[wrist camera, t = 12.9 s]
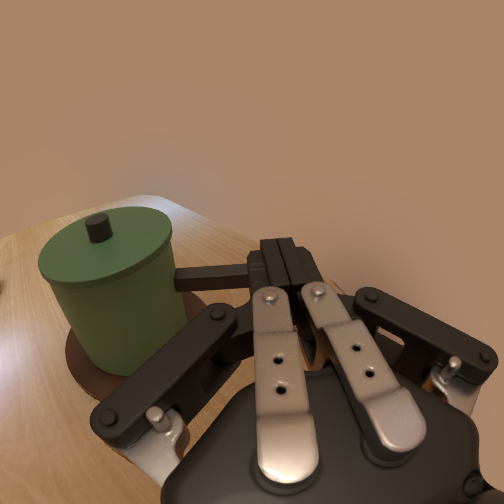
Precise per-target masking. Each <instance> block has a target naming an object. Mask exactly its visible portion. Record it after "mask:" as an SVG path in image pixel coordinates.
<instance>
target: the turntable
mask: <svg viewBox="0 0 504 504" xmlns="http://www.w3.org/2000/svg"><path fill="white" fill-rule="evenodd" d="M181 295H182V300H183V304H184V309H185V313H186V317H187V322H189V321H191V320H192V319H193V318H194V317H195V316H196V315H197V314H198V313H199V312H200V311H201V310H203V309H204V308H205V307H206V304H205V303H204V302H203V301H202V300H201V299H200V298H199V297H198V296H196V295H195V294H194V293H192V292H181ZM65 354H66V361H67V365H68V368H69V370H70V372H71V374H72V375H73V377H74V378H75V380H76V381H77V383H78V384H79V385H80V386H81V387H82V388H83V389H84V390H85V391H86V392H87V393H88V394H89V395H91V396H92V397H94V398H95V399H97V400H99V401H101V402H102V401H103V400H104V399H105V398H106V397H107V396H108V395H109V394H110V393H111V392H113V391H114V390H115V389H116V388H117V387H118V386H119V385H120V384H121V383H123V382H124V381H125V380H126V379H127V378H128V377H129V376H119V375H114V374H110V373H107V372H105V371H103V370H101V369H100V368H98V367H97V366H96V365H94V364H93V362H92V361H91V360H90V358H89V357H88V355H87V354H86V352H85V350H84V349H83V347H82V345H81V344H80V342H79V340H78V338H77V337H76V335H75V333H74V331H73V330H72V328H71V329H70V332H69V334H68V337H67V341H66V348H65Z"/></svg>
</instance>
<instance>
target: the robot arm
mask: <svg viewBox="0 0 504 504" xmlns="http://www.w3.org/2000/svg"><path fill="white" fill-rule="evenodd" d="M247 268H248V284H249V291H250V298H251V299H250V300H249V301H248V302H247V303H246V304H244V305H242V306H240V307H237V308H233V307H232V306H231V305H229V304H226V303H214V304H210V305H208V306H206V307H205V308H204V309H203V310H201V311H200V312H199V313H198V314H197V315H196V316H195V317H194V318H193V319H192V320H191V321H189V322H188V323H187V324H186V325H185V326H184V327H183V328H182V329H181V330H180V331H179V332H177V333H176V334H175V335H174V336H173V337H172V338H171V339H170V340H169V341H168V342H167V343H165V344H164V345H163V346H162V347H161V348H160V349H159V350H158V351H157V352H156V353H155V354H153V355H152V356H151V357H150V358H149V359H148V360H147V361H146V362H145V363H144V364H142V365H141V366H140V367H139V368H138V369H137V370H136V371H135V372H134V373H133V374H131V375H130V376H129V377H128V378H127V379H126V380H125V381H124V382H123V383H121V384H120V385H119V386H118V387H117V388H116V389H115V390H114V391H113V392H111V393H110V394H109V395H108V396H107V397H106V398H105V399H104V400H103V401H102V402H100V403H99V404H98V405H97V406H96V407H95V408H94V409H93V411H92V413H91V416H90V426H91V428H92V430H93V432H94V433H95V434H96V435H97V436H99V437H100V438H101V439H102V440H103V441H104V442H105V444H106V445H108V446H109V447H110V448H111V449H112V450H114V451H115V452H116V453H117V454H119V455H120V456H121V457H123V458H125V459H127V460H128V461H129V462H131V463H132V464H134V465H135V466H137V467H138V468H139V469H140V470H141V471H142V472H144V473H145V474H146V475H147V476H148V477H149V478H151V479H152V480H153V481H154V482H156V483H157V484H158V485H159V486H161V487H162V489H161V495H160V501H161V504H504V492H502V491H500V490H497V489H495V488H493V487H492V486H490V485H489V484H488V483H487V482H486V481H485V480H484V478H483V477H482V475H481V472H480V466H479V434H478V430H477V427H476V425H475V423H474V422H473V420H472V419H471V418H470V416H471V414H472V411H473V408H474V406H475V403H476V400H477V397H478V394H479V391H480V388H481V386H482V385H483V384H484V382H485V381H486V380H487V379H488V378H489V376H490V375H491V374H492V373H493V371H494V370H495V369H496V368H497V366H498V357H497V354H496V352H495V351H494V350H493V349H492V348H491V347H490V346H488V345H486V344H484V343H482V342H481V341H479V340H477V339H475V338H473V337H471V336H469V335H467V334H465V333H463V332H461V331H460V330H458V329H456V328H454V327H452V326H450V325H448V324H446V323H444V322H442V321H440V320H438V319H436V318H434V317H432V316H430V315H428V314H427V313H424V312H423V311H421V310H419V309H417V308H415V307H413V306H410V305H409V304H407V303H405V302H402V301H401V300H399V299H397V298H395V297H393V296H391V295H389V294H387V293H384V292H383V291H381V290H379V289H376V288H373V287H364V288H361V289H359V290H358V291H357V292H356V294H355V296H348V295H341V294H337V293H336V292H335V290H334V289H333V288H332V287H331V286H330V285H328V284H326V283H324V281H323V279H322V277H321V274H320V272H319V270H318V268H317V266H316V264H315V262H314V260H313V257H312V255H311V253H310V252H309V251H308V250H307V249H306V248H304V247H295V244H294V242H293V239H292V238H291V237H289V238H277V239H264V240H260V250H256V251H250V253H249V254H248V256H247ZM293 325H296V326H297V331H294V329H293ZM379 327H381V328H383V329H385V330H386V331H388V332H390V333H392V334H394V335H396V336H397V337H399V338H401V339H402V340H403V341H404V345H400V344H398V343H397V342H395V341H393V340H391V339H389V338H388V337H386V336H384V335H382V334H380V333H378V332H377V331H378V328H379ZM300 349H301V351H302V354H303V357H304V359H305V362H306V365H307V367H308V370H309V371H304V370H303V364H302V358H301V352H300ZM251 356H254V366H255V382H254V383H252V384H250V385H248V386H246V387H244V388H243V389H241V390H240V391H239V392H237V393H236V394H235V395H234V396H233V397H232V398H231V400H230V401H229V402H228V403H227V405H226V406H225V407H224V409H223V410H222V411H221V412H220V414H219V415H218V416H217V418H216V419H215V420H214V421H213V423H212V424H211V425H210V426H209V428H208V429H207V430H206V431H205V433H204V434H203V435H202V436H201V438H200V439H199V440H198V441H197V442H196V444H195V445H194V446H193V447H192V448H191V450H190V451H189V452H188V453H187V454H186V456H185V457H184V458H183V454H184V451H185V449H186V447H187V446H188V444H189V442H190V432H189V429H188V428H187V425H188V424H189V423H190V422H191V420H192V419H193V418H194V417H195V416H196V415H197V414H198V413H199V412H200V410H201V409H202V408H203V407H204V406H205V405H206V404H207V403H208V401H209V400H210V399H211V398H212V397H213V396H214V395H215V394H216V392H217V391H218V390H219V389H220V388H221V387H222V385H223V384H224V383H225V382H226V381H227V380H228V378H229V377H230V376H231V375H232V374H233V373H234V371H235V370H236V369H237V368H238V367H239V365H240V363H241V360H244V359H246V358H249V357H251Z"/></svg>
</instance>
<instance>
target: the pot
mask: <svg viewBox="0 0 504 504" xmlns="http://www.w3.org/2000/svg"><path fill="white" fill-rule="evenodd" d="M171 237H172V226H171V221H170V219H169V218H168V217H167V215H165V214H164V213H163V212H161V211H159V210H156V209H152V208H148V207H121V208H115V209H110V210H105V211H101V212H98V213H95V214H92V215H89V216H87V217H84V218H82V219H80V220H78V221H76V222H74V223H72V224H70V225H68V226H67V227H65V228H64V229H62V230H61V231H59V232H58V233H57V234H55V235H54V236H53V237H52V238H51V239H50V240H49V241H48V242H47V243H46V245H45V246H44V247H43V249H42V250H41V252H40V255H39V258H38V267H39V270H40V272H41V275H42V276H43V278H44V279H45V280H46V281H47V282H48V283H49V284H50V286H51V288H52V290H53V293H54V295H55V297H56V299H57V301H58V303H59V305H60V307H61V309H62V311H63V313H64V315H65V317H66V318H67V320H68V322H69V324H70V326H71V328H72V330H73V331H74V333H75V335H76V337H77V338H78V340H79V342H80V344H81V345H82V347H83V349H84V350H85V352H86V354H87V355H88V357H89V358H90V360H91V361H92V362H93V364H94V365H96V366H97V367H98V368H100V369H101V370H103V371H105V372H107V373H110V374H114V375H119V376H130V375H131V374H133V373H134V372H135V371H136V370H137V369H138V368H139V367H140V366H141V365H142V364H144V363H145V362H146V361H147V360H148V359H149V358H150V357H151V356H152V355H153V354H155V353H156V352H157V351H158V350H159V349H160V348H161V347H162V346H163V345H164V344H165V343H167V342H168V341H169V340H170V339H171V338H172V337H173V336H174V335H175V334H176V333H177V332H179V331H180V330H181V329H182V328H183V327H184V326H185V325H186V324H187V323H188V322H187V317H186V313H185V309H184V304H183V300H182V295H181V292H190V291H206V290H221V289H235V288H249V284H248V268H247V264H233V265H219V266H204V267H189V268H176V267H175V262H174V257H173V252H172V247H171V241H170V239H171Z"/></svg>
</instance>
